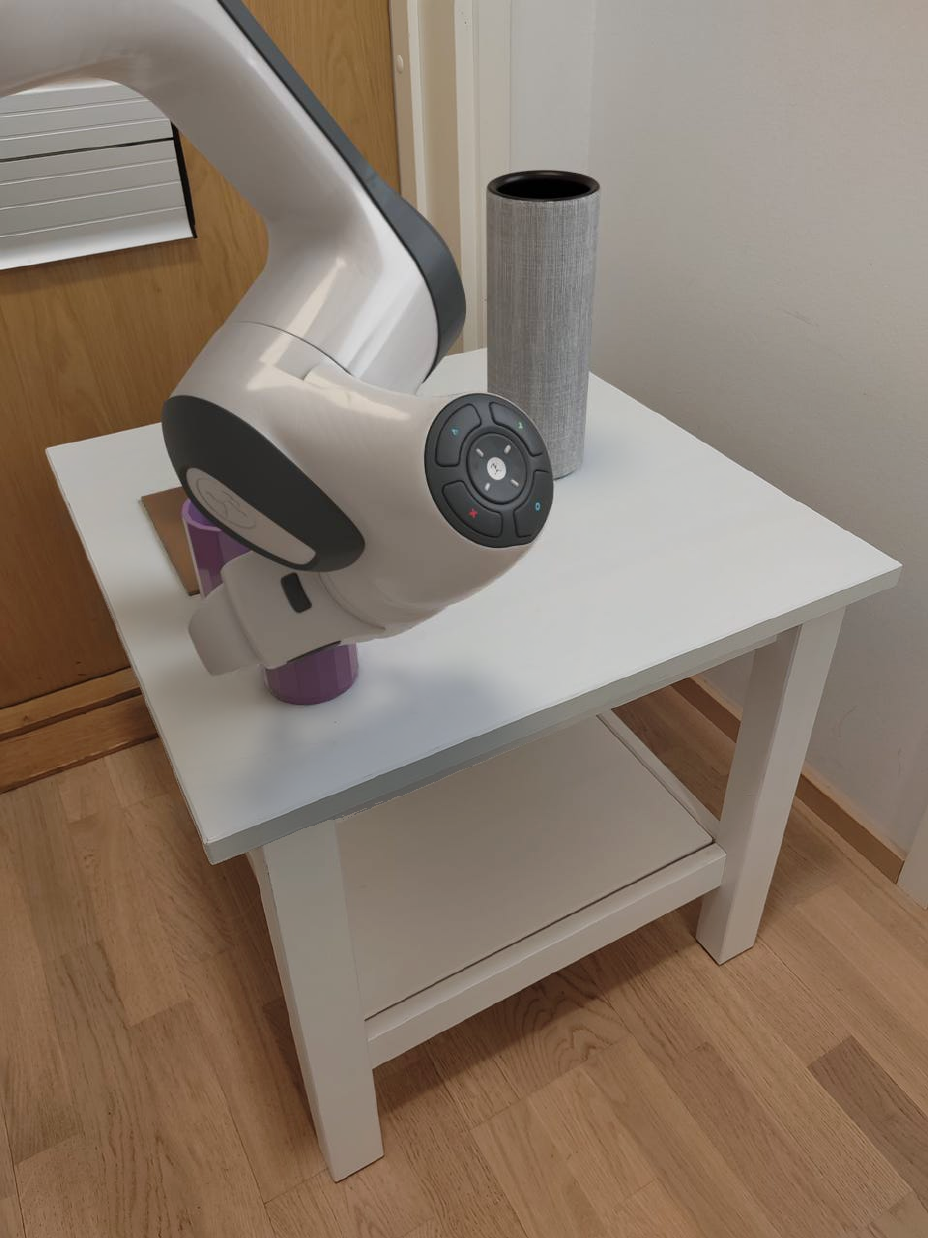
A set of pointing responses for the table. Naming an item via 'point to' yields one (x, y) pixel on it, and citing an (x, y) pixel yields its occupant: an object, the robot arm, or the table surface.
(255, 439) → the robot arm
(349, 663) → the plum cup
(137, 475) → the table surface
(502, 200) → the vase
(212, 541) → the mauve cup
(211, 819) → the table surface
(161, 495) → the placemat
